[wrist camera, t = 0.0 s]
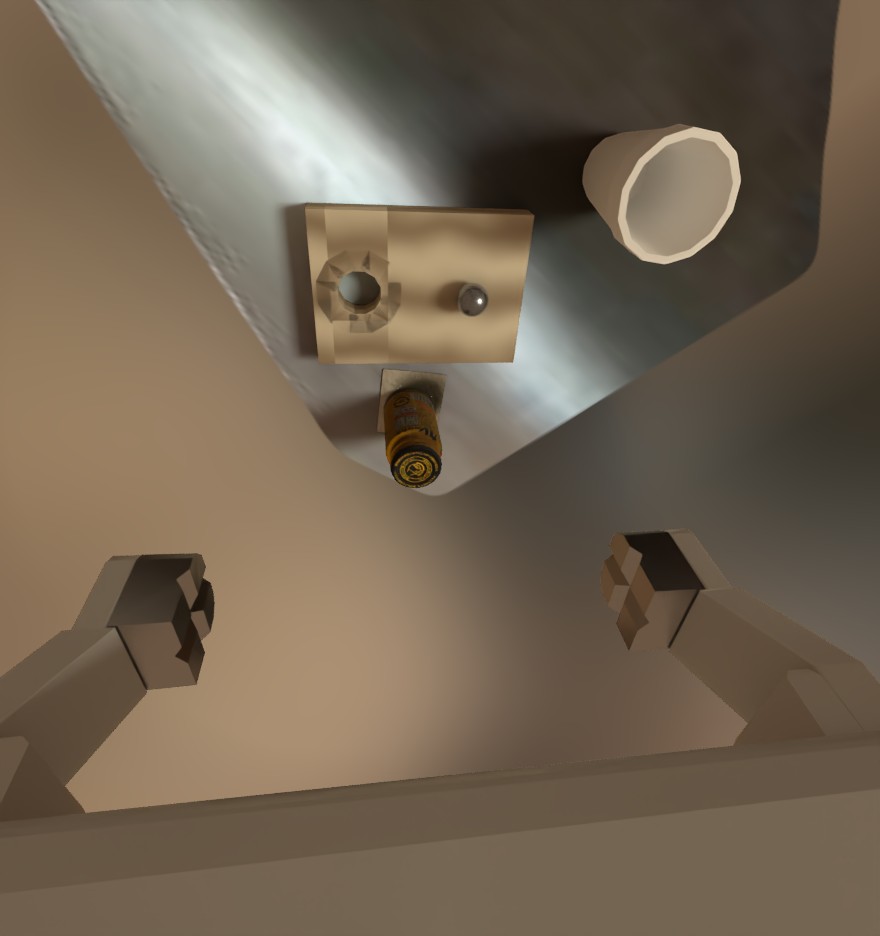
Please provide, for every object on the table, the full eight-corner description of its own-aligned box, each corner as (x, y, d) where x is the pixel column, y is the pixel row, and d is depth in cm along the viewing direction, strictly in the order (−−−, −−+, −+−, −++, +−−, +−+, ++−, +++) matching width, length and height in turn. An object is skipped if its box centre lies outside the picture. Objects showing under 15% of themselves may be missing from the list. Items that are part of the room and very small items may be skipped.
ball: (455, 278, 53) (459, 289, 50) (486, 278, 53) (493, 289, 51) (453, 309, 55) (457, 321, 52) (483, 310, 55) (489, 322, 53)
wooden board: (306, 202, 50) (304, 208, 48) (527, 209, 52) (534, 215, 50) (320, 353, 59) (318, 363, 57) (508, 352, 61) (513, 362, 59)
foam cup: (680, 125, 50) (764, 143, 39) (640, 231, 55) (705, 271, 45) (585, 103, 48) (647, 116, 37) (553, 215, 53) (600, 253, 43)
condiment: (376, 431, 66) (379, 494, 56) (383, 368, 61) (387, 425, 51) (435, 435, 67) (448, 496, 58) (446, 373, 62) (462, 430, 53)
